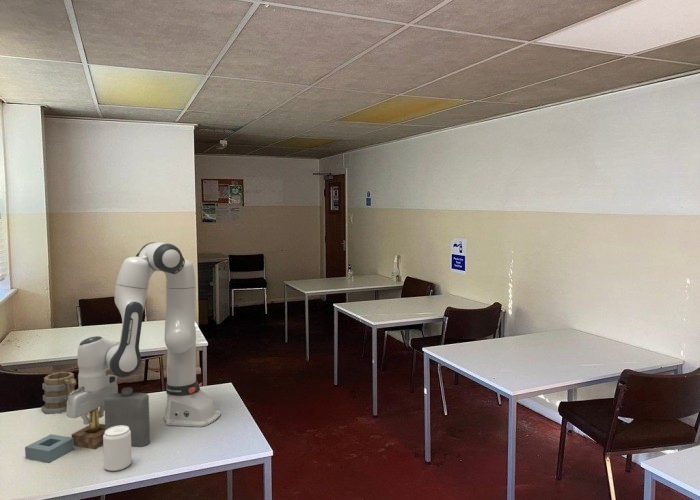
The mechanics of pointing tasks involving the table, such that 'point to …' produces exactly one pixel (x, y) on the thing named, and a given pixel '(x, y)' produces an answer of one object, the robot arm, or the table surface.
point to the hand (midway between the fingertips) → (93, 420)
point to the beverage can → (117, 448)
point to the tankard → (57, 391)
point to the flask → (129, 414)
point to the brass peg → (94, 421)
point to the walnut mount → (89, 437)
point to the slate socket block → (49, 448)
